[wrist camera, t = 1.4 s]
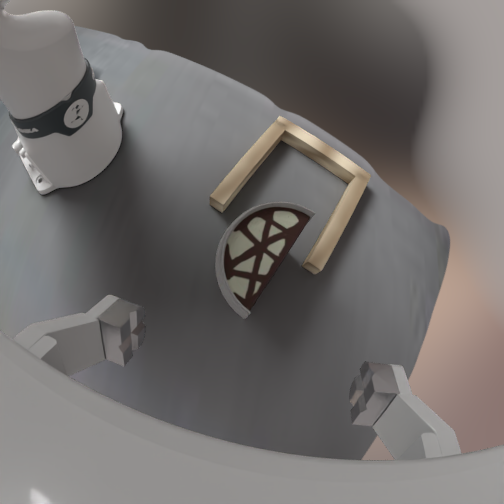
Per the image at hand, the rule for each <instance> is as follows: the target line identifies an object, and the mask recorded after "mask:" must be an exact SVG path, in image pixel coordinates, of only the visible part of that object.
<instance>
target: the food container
mask: <svg viewBox="0 0 504 504" xmlns="http://www.w3.org/2000/svg"><path fill="white" fill-rule="evenodd" d="M314 215H315V212H313V211H312V210H310V209H308V208H306V207H303V206H301V205H298V204H294V203H289V202H270V203H265V204H261V205H258V206H255V207H252V208H251V209H249V210H247V211H245V212H244V213H243V214H241V215H240V216H239V217H238V218H236V219H235V220H234V221H233V222H232V224H231V225H230V226H229V227H228V228H227V229H226V231H225V233H224V234H223V236H222V238H221V240H220V242H219V245H218V248H217V253H216V261H215V269H216V277H217V281H218V284H219V287H220V290H221V292H222V294H223V296H224V298H225V299H226V301H227V302H228V304H229V305H230V306H231V307H232V309H233V310H234V311H235V312H236V313H237V314H238V315H240V316H241V317H242V318H243V319H245V318H247V317H248V316H249V314H250V313H251V312H250V310H251V308H252V307H253V305H254V304H255V302H256V300H257V299H258V297H259V296H260V294H261V293H262V291H263V290H264V288H265V287H266V285H267V284H268V282H269V281H270V279H271V278H272V276H273V275H274V273H275V272H276V270H277V269H278V267H279V266H280V264H281V263H282V262H283V260H284V258H285V256H286V255H287V253H288V252H289V250H290V249H291V247H292V246H293V244H294V243H295V241H296V240H297V238H298V236H299V235H300V233H301V232H302V230H303V229H304V227H305V225H306V224H307V223H308V222H309V221H310V219H311V218H312V217H313V216H314Z"/></svg>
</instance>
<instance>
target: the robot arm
mask: <svg viewBox="0 0 504 504" xmlns="http://www.w3.org/2000/svg"><path fill="white" fill-rule="evenodd" d="M9 2H10V0H0V99H1V100H2V102H3V103H4V104H5V106H6V107H7V109H8V110H9V116H10V119H11V121H12V123H13V125H14V127H15V130H16V132H17V134H18V139H17V141H16V142H15V143H14V144H13V145H12V147H13V148H14V150H15V151H16V153H17V154H18V155H20V157H21V159H22V161H23V163H24V165H25V167H26V169H27V171H28V173H29V175H30V177H31V179H32V181H33V183H34V185H35V187H36V189H37V190H38V192H39V193H40V194H47V193H49V192H51V191H53V190H55V189H57V188H63V187H73V186H77V185H80V184H82V183H85V182H87V181H89V180H90V179H92V178H94V177H95V176H96V175H98V174H99V173H100V172H101V171H103V170H104V169H105V168H106V167H107V166H108V164H109V163H110V162H111V161H112V159H113V158H114V157H115V155H116V153H117V151H118V149H119V147H120V144H121V140H122V129H121V124H120V120H121V117H122V114H123V108H122V105H121V104H119V103H116V102H113V101H112V99H111V96H110V94H109V92H108V90H107V87H106V85H105V83H104V82H103V81H102V80H101V81H99V80H97V79H95V77H94V72H93V69H92V67H91V66H90V64H89V62H88V60H87V59H85V58H84V56H83V53H82V50H81V47H80V44H79V40H78V37H77V34H76V30H75V27H74V24H73V22H72V20H71V18H70V17H69V16H68V15H66V14H65V13H63V12H60V11H54V10H46V11H39V12H33V13H29V14H24V15H10V14H8V13H7V12H5V10H4V8H5V6H6V4H7V3H9ZM41 181H42V182H41ZM40 182H41V183H40ZM144 317H145V309H144V307H143V306H140V305H137V304H134V303H132V302H129V301H127V300H124V299H120V298H118V297H116V296H113V295H107V296H106V297H105V298H103V299H102V300H101V301H100V302H99V303H97V304H96V305H95V306H94V307H93V308H91V309H90V310H89V311H88V312H87V313H86V314H84V313H78V314H74V315H69V316H65V317H60V318H56V319H51V320H47V321H42V322H37V323H33V324H30V325H29V326H28V327H26V328H25V329H24V330H23V331H21V332H20V333H19V334H18V335H17V336H15V337H14V338H13V339H11V338H10V337H9V336H7V335H6V334H5V333H4V332H2V331H1V330H0V504H504V445H500V446H496V447H492V448H488V449H484V450H479V451H474V452H469V453H463V454H462V453H461V450H460V447H459V444H458V441H457V438H456V435H455V432H454V430H453V429H452V428H451V427H450V426H449V425H448V424H446V423H445V422H444V421H443V420H442V419H441V418H440V417H439V416H438V415H437V414H436V413H435V412H433V411H432V410H431V409H430V408H429V407H428V406H427V405H426V404H425V403H424V402H422V401H421V400H420V399H419V398H418V397H417V396H416V395H412V392H411V388H410V385H409V383H408V380H407V377H406V374H405V371H404V368H403V367H402V366H401V365H392V364H389V365H388V364H381V363H373V362H366V361H365V362H364V363H363V364H362V366H361V368H360V375H359V376H357V377H355V379H354V381H353V383H352V385H351V388H350V394H349V399H350V402H351V403H352V405H353V408H352V409H351V418H352V424H354V425H364V426H373V429H374V430H375V432H376V433H377V435H378V436H379V437H380V439H381V440H382V442H383V443H384V444H385V446H386V448H387V449H388V450H389V452H390V453H391V455H392V456H393V458H394V459H395V460H377V461H376V460H374V461H373V460H345V459H330V458H319V457H310V456H302V455H295V454H288V453H281V452H276V451H270V450H265V449H259V448H255V447H250V446H245V445H241V444H237V443H233V442H229V441H225V440H221V439H217V438H214V437H210V436H207V435H203V434H200V433H197V432H194V431H191V430H187V429H184V428H181V427H179V426H176V425H173V424H170V423H167V422H165V421H162V420H159V419H157V418H154V417H151V416H149V415H146V414H144V413H142V412H139V411H137V410H134V409H132V408H130V407H128V406H125V405H123V404H121V403H119V402H117V401H114V400H112V399H110V398H108V397H106V396H104V395H102V394H100V393H98V392H96V391H94V390H92V389H90V388H88V387H87V386H85V385H83V384H81V383H79V382H77V381H76V380H74V379H72V378H70V377H69V376H70V375H72V374H74V373H77V372H79V371H81V370H84V369H86V368H88V367H90V366H93V365H95V364H97V363H99V362H102V361H104V360H105V359H107V360H109V361H112V362H114V363H117V364H119V365H122V366H124V367H125V365H126V364H127V363H128V361H129V360H130V359H131V358H132V356H133V350H136V349H139V347H140V346H141V345H142V343H143V340H144V338H145V332H146V326H145V324H144V323H143V321H142V320H143V319H144Z"/></svg>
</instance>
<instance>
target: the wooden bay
mask: <svg viewBox="0 0 504 504" xmlns="http://www.w3.org/2000/svg"><path fill="white" fill-rule="evenodd" d="M281 140H282V141H284V142H285V143H287V144H289V145H290V146H292V147H293V148H295V149H297V150H298V151H300V152H301V153H303V154H305V155H306V156H308V157H309V158H311V159H312V160H314V161H315V162H317V163H318V164H320V165H321V166H323V167H324V168H326V169H327V170H329V171H330V172H332V173H333V174H335V175H336V176H338V177H339V178H340V179H342V180H343V181H345V182H346V183H348V186H347V188H346V190H345V192H344V193H343V195H342V197H341V199H340V201H339V202H338V204H337V206H336V208H335V210H334V211H333V213H332V215H331V217H330V218H329V220H328V222H327V224H326V225H325V227H324V229H323V231H322V232H321V234H320V236H319V238H318V239H317V241H316V243H315V244H314V246H313V248H312V249H311V251H310V253H309V255H308V256H307V258H306V260H305V261H304V263H303V265H302V267H304V268H305V269H307V270H308V271H310V272H311V273H313V274H314V275H315V274H317V273H318V272H320V271H322V269H323V267H324V266H325V264H326V262H327V260H328V258H329V257H330V255H331V253H332V251H333V249H334V248H335V246H336V244H337V242H338V240H339V238H340V236H341V234H342V233H343V231H344V229H345V227H346V225H347V223H348V221H349V219H350V217H351V215H352V213H353V211H354V209H355V207H356V205H357V203H358V201H359V199H360V197H361V195H362V193H363V191H364V189H365V187H366V185H367V183H368V181H369V179H370V177H371V175H370V174H369V173H367V172H366V171H365V170H363V169H362V168H360V167H359V166H358V165H356V164H355V163H353V162H352V161H351V160H349V159H348V158H346V157H345V156H343V155H342V154H340V153H339V152H338V151H336V150H335V149H333V148H332V147H330V146H329V145H327V144H325V143H324V142H322V141H321V140H319V139H318V138H316V137H315V136H313V135H311V134H310V133H308V132H307V131H305V130H303V129H302V128H300V127H298V126H297V125H295V124H293V123H292V122H290V121H288V120H286V119H285V118H283V117H281V116H279V117H278V119H277V120H276V121H275V122H274V123H273V124H272V125H271V126H270V127H269V128H268V129H267V130H266V132H265V133H264V134H263V135H262V136H261V137H260V138H259V139H258V140H257V142H256V143H255V144H254V145H253V146H252V147H251V148H250V149H249V151H248V152H247V153H246V154H245V155H244V156H243V157H242V159H241V160H240V161H239V162H238V163H237V164H236V166H235V167H234V168H233V169H232V170H231V171H230V173H229V174H228V175H227V176H226V177H225V178H224V180H223V181H222V182H221V183H220V184H219V186H218V187H217V188H216V189H215V190H214V192H213V193H212V194H211V195H210V205H211V206H213V207H214V208H216V209H217V210H219V211H220V212H222V213H223V212H224V210H225V209H226V208H227V207H228V205H229V204H230V203H231V201H232V200H233V199H234V198H235V196H236V195H237V194H238V193H239V191H240V190H241V189H242V188H243V186H244V185H245V184H246V182H247V181H248V180H249V179H250V177H251V176H252V175H253V174H254V173H255V171H256V170H257V169H258V168H259V166H260V165H261V164H262V163H263V161H264V160H265V159H266V158H267V157H268V155H269V154H270V153H271V152H272V150H273V149H274V148H275V147H276V146H277V144H278V143H279V142H280V141H281Z"/></svg>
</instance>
